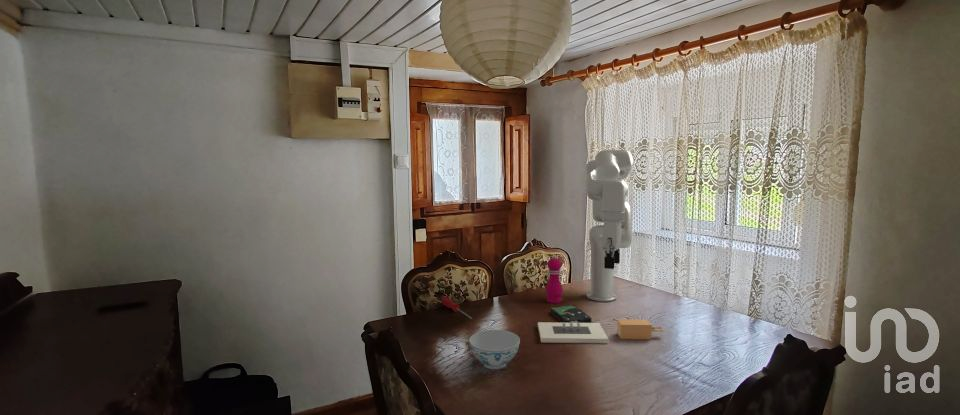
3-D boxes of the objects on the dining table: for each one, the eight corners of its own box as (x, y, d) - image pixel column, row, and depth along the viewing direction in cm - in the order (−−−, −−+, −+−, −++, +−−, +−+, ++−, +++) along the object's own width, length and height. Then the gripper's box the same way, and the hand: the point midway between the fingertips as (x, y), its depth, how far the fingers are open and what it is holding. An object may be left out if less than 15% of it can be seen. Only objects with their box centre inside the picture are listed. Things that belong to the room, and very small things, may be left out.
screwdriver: (467, 323, 166) (467, 314, 165) (440, 304, 188) (440, 296, 187) (476, 322, 168) (475, 313, 167) (447, 303, 189) (447, 295, 189)
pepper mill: (564, 303, 187) (564, 256, 185) (546, 303, 187) (547, 256, 185) (561, 298, 194) (561, 252, 192) (544, 298, 194) (544, 253, 192)
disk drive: (592, 325, 165) (573, 311, 179) (592, 317, 164) (573, 304, 179) (566, 328, 162) (549, 313, 176) (566, 320, 162) (549, 306, 176)
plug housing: (617, 333, 155) (617, 319, 155) (659, 333, 155) (659, 319, 154) (620, 339, 150) (621, 324, 150) (664, 339, 150) (664, 325, 149)
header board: (537, 326, 162) (537, 315, 162) (599, 326, 161) (599, 315, 161) (541, 342, 148) (541, 330, 148) (608, 343, 147) (608, 331, 147)
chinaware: (462, 358, 137) (461, 334, 136) (506, 349, 143) (505, 326, 142) (481, 380, 124) (481, 354, 123) (529, 370, 130) (529, 344, 129)
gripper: (607, 213, 162) (606, 260, 164) (596, 218, 147) (595, 269, 148) (628, 214, 159) (627, 262, 160) (619, 219, 144) (618, 271, 145)
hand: (612, 265), depth 154 cm, fingers open, 9 cm apart
